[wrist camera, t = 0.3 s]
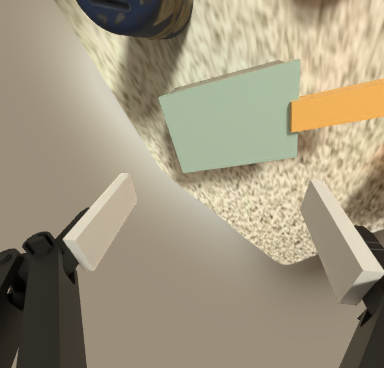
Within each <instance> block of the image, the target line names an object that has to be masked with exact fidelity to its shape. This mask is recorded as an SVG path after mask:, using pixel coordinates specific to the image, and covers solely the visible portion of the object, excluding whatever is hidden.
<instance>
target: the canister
mask: <svg viewBox="0 0 384 368" xmlns="http://www.w3.org/2000/svg"><path fill="white" fill-rule="evenodd" d="M76 1H77V3H78V4H79V6H80V7H81V9H82V10H83V11H84V12H85V13H86V15H87V16H88V17H89V18H90V19H91V20H92V21H93V22H95V23H96V24H97V25H98V26H100V27H101V28H103V29H105V30H107V31H109V32H111V33H114V34H118V35H124V36H133V37H142V38H147V39H150V40H152V39H169V38H172V37H175V36H176V35H178V34H179V33H180V32H181V31H182V30H183V29H184V28H185V26H186V25H187V23H188V21H189V19H190V16H191V13H192V9H193V0H76Z"/></svg>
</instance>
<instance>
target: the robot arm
mask: <svg viewBox="0 0 384 368" xmlns="http://www.w3.org/2000/svg"><path fill="white" fill-rule="evenodd" d="M136 202H137V197H136V194H135V190H134V187H133V183H132V180H131V176H130V174H127V173H121V174H120V175H119V176H118V177H117V178H116V179H115V180H114V182H113V183H112V184H111V185H110V186H109V187H108V188H107V189H106V191H105V192H104V193H103V194H102V195H101V196H100V197H99V199H98V200H97V201H96V202H95V203H94V204H93V205H92V206H91V208H86V209H85V210H83V211H81V212H80V213H79V214H78V215H77V216H76V217H75V219H74V220H73V221H72V222H71V223H70V224H69V225H68V226H67V227H66V228H65V229H64V230H63V232H62V233H61V234H60V235H59V236H58V237H57V238H56V239H54V237H53V236H52V235H51V234H50V233H49V232H40V233H37V234H35V235H32V236H31V237H30V238H28V239H27V240H26V241H25V242H24V243H23V246H22V247H23V249H24V250H25V251H26V252H27V253H23V254H21V253H20V252H19V251H17V250H16V249H14V248H13V249H8V250H5V251H2V252H1V253H0V368H11V367H12V364H13V361H14V358H15V356H16V353H17V350H18V347H19V350H18V357H17V366H16V368H87V366H86V355H85V345H84V335H83V327H82V316H81V306H80V297H79V286H78V276H77V271H76V269H75V268H76V267H77V265H78V264H79V265H80V266H81V268H82V269H84V270H91V271H94V270H95V268H96V267H97V265H98V264H99V262H100V260H101V259H102V257H103V256H104V254H105V252H106V251H107V249H108V247H109V246H110V244H111V243H112V241H113V239H114V238H115V236H116V234H117V233H118V231H119V230H120V228H121V226H122V225H123V223H124V221H125V220H126V218H127V217H128V215H129V213H130V212H131V210H132V208H133V207H134V205H135V204H136ZM300 211H301V213H302V216H303V218H304V220H305V223H306V225H307V228H308V230H309V232H310V235H311V237H312V240H313V242H314V245H315V247H316V249H317V252H318V254H319V257H320V259H321V262H322V264H323V266H324V269H325V271H326V274H327V276H328V278H329V281H330V283H331V286H332V288H333V291H334V293H335V295H336V298H337V300H338V303H341V304H348V305H355V306H356V305H358V303H360V301H361V300H363V302H364V304H365V306H366V307H367V309H366V310H365V311H364V312H363V313H362V314H361V315H360V316H359V317H358V318H357V319H359V320H360V321H359V324H358V326H357V328H356V331H355V333H354V335H353V337H352V340H351V342H350V344H349V347H348V349H347V351H346V353H345V356H344V358H343V360H342V363H341V365H340V367H339V368H384V248H383V246H382V245H381V244H379V241H378V240H377V239H376V237H375V236H374V234H373V233H371V232H370V231H369V230H368V229H366V228H365V227H364V226H356V225H353V224H352V222H351V221H350V220H349V218H348V217H347V215H346V214H345V212H344V211H343V209H342V208H341V206H340V205H339V203H338V202H337V200H336V199H335V197H334V196H333V194H332V193H331V191H330V190H329V188H328V187H327V185H326V184H325V182H324V181H323V180H311V179H310V182H309V185H308V188H307V191H306V194H305V197H304V200H303V203H302V206H301V209H300ZM9 288H10V291H9V293H8V294H7V292H8V289H9Z"/></svg>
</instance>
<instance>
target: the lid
mask: <svg viewBox="0 0 384 368" xmlns="http://www.w3.org/2000/svg"><path fill="white" fill-rule="evenodd" d="M299 82H300V60H299V59H296V60H292V61H289V62H285V63H281V64H277V65H274V66H270V67H266V68H262V69H259V70H255V71H251V72H247V73H244V74H240V75H236V76H232V77H229V78H225V79H221V80H218V81H214V82H210V83H206V84H203V85H199V86H195V87H191V88H188V89H184V90H180V91H176V92H173V93H169V94H165V95H161V96H159V97H158V99H159V102H160V105H161V108H162V111H163V114H164V117H165V120H166V123H167V126H168V129H169V132H170V135H171V138H172V141H173V144H174V147H175V150H176V153H177V156H178V160H179V163H180V166H181V169H182V172H183V173H189V172H196V171H203V170H210V169H217V168H224V167H232V166H239V165H246V164H253V163H260V162H267V161H274V160H282V159H289V158H296V157H297V142H298V131H303V130H309V129H314V128H320V127H326V126H332V125H338V124H343V123H349V122H355V121H361V120H366V119H372V118H378V117H384V79H379V80H374V81H370V82H365V83H361V84H356V85H351V86H347V87H342V88H338V89H333V90H328V91H324V92H319V93H315V94H310V95H306V96H301V97H299Z"/></svg>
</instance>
